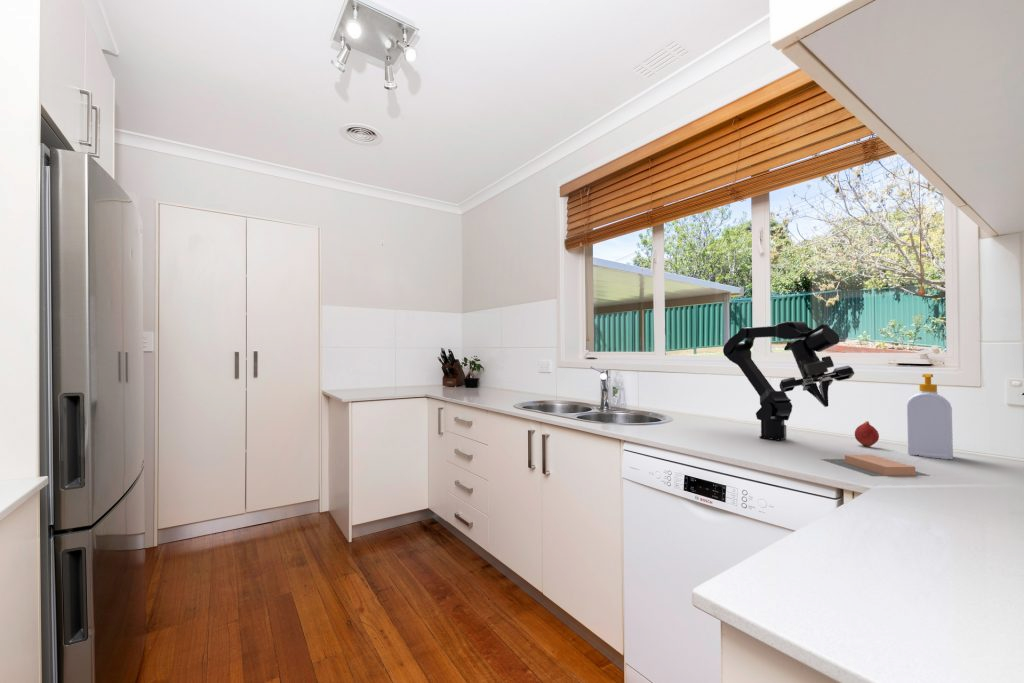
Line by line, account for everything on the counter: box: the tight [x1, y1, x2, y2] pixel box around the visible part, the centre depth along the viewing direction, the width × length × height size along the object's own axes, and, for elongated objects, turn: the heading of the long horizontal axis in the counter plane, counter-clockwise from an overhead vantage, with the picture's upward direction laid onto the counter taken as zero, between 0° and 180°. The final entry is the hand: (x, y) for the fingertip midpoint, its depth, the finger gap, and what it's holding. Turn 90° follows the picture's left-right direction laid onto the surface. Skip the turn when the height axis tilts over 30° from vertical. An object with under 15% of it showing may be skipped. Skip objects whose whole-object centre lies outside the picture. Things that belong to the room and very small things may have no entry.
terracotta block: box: [844, 454, 916, 477], centre depth 107 cm, size 2×7×12 cm
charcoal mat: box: [820, 458, 931, 477], centre depth 109 cm, size 16×14×1 cm
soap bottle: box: [906, 373, 954, 460], centre depth 123 cm, size 9×7×23 cm
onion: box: [854, 420, 880, 448], centre depth 134 cm, size 6×6×8 cm
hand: (826, 406), depth 130 cm, fingers closed
